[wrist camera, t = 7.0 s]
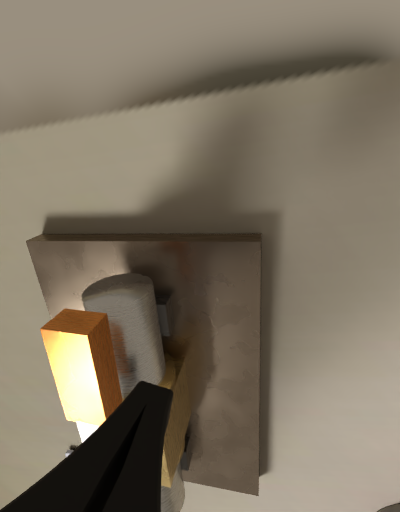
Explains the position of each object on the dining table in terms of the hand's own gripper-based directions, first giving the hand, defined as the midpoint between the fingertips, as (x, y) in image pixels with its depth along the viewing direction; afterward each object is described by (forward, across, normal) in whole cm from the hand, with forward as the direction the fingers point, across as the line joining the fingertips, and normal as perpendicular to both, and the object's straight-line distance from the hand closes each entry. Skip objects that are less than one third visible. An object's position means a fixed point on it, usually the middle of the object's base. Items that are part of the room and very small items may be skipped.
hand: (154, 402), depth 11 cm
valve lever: (+2, +3, +4) cm, 5 cm away
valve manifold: (+10, +2, +9) cm, 13 cm away
